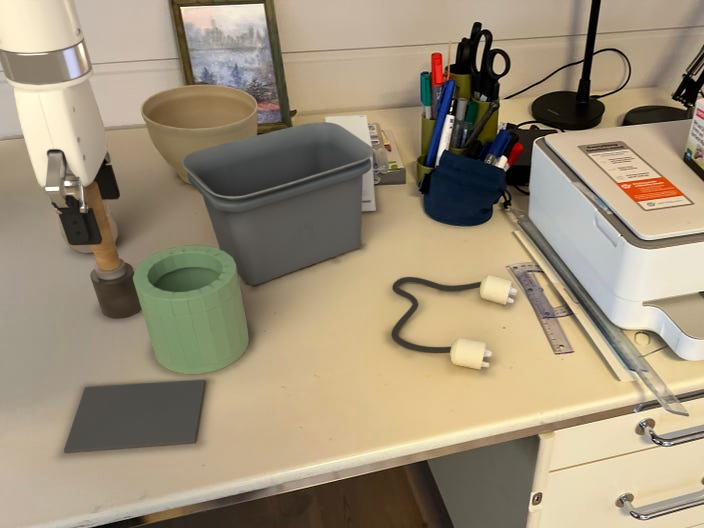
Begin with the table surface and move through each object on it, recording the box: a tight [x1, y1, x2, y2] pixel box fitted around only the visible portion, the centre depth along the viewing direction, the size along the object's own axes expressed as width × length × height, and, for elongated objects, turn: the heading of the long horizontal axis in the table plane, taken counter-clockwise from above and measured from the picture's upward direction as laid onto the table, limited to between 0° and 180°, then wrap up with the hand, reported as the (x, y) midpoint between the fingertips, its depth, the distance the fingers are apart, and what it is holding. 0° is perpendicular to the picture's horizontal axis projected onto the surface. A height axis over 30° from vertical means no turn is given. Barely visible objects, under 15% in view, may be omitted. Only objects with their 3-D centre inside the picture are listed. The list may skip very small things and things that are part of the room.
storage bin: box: [181, 121, 375, 286], centre depth 96 cm, size 21×16×14 cm
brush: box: [73, 181, 142, 320], centre depth 84 cm, size 5×5×16 cm
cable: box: [391, 274, 518, 370], centre depth 90 cm, size 16×16×4 cm
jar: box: [133, 244, 250, 375], centre depth 82 cm, size 10×10×10 cm
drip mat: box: [63, 379, 206, 454], centre depth 76 cm, size 12×9×1 cm
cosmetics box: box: [324, 114, 377, 212], centre depth 110 cm, size 10×6×10 cm, turn 11°
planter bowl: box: [140, 84, 259, 185], centre depth 113 cm, size 16×16×11 cm
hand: (96, 219), depth 82 cm, fingers open, 9 cm apart
